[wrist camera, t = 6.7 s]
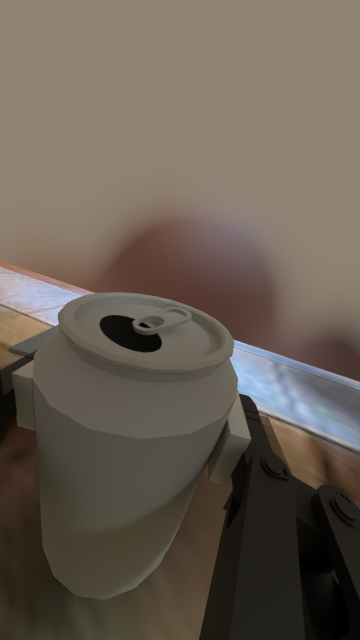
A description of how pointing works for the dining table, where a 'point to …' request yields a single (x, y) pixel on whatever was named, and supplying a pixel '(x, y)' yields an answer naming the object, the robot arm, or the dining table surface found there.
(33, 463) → the dining table surface
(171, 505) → the can
